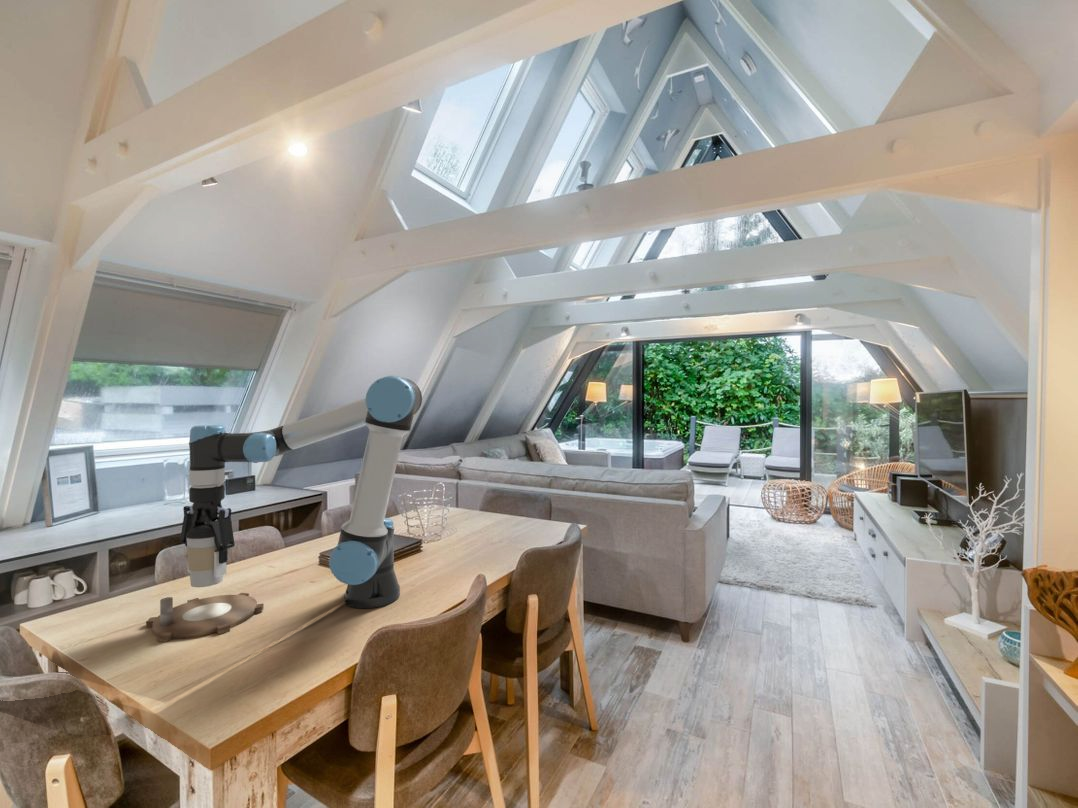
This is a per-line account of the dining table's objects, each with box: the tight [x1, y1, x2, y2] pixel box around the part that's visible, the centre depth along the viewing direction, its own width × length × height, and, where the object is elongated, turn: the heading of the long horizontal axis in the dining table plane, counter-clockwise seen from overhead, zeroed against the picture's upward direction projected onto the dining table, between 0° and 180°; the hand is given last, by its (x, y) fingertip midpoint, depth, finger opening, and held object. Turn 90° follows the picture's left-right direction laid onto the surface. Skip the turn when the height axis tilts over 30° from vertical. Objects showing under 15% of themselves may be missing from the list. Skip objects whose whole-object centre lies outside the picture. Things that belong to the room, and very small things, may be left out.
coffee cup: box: [185, 521, 224, 588], centre depth 123 cm, size 9×9×15 cm
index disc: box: [145, 592, 265, 643], centre depth 123 cm, size 23×25×8 cm
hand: (206, 573), depth 123 cm, fingers closed on coffee cup, 9 cm apart
